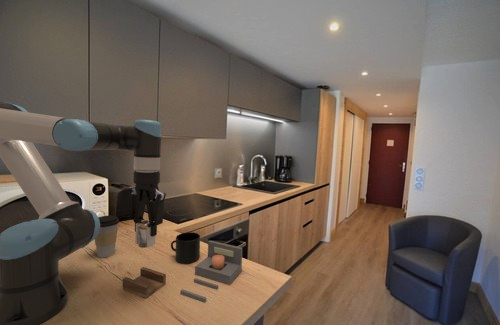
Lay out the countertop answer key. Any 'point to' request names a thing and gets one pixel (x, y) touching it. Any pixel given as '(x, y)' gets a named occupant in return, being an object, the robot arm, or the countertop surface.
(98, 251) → the coffee cup
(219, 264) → the test button
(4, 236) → the robot arm
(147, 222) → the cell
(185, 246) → the mug
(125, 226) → the countertop surface
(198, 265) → the grey blocks and bars
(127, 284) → the trough
